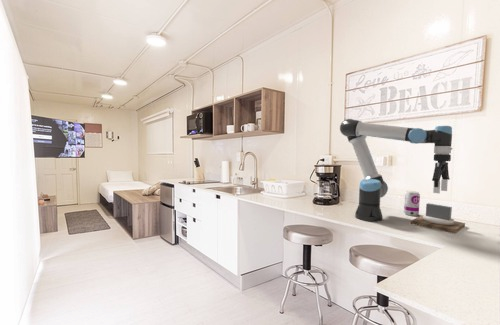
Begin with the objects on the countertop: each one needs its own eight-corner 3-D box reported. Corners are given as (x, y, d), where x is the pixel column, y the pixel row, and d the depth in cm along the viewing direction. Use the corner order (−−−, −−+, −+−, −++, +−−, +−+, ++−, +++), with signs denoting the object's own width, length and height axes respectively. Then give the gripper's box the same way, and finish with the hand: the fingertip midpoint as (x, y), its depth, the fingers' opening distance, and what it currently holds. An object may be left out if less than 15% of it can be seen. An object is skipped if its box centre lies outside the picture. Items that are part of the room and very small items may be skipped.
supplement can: (421, 216, 160) (423, 193, 159) (408, 216, 160) (410, 192, 159) (413, 213, 168) (414, 190, 167) (401, 212, 168) (402, 190, 168)
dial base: (410, 223, 143) (411, 220, 143) (423, 218, 156) (423, 214, 155) (455, 233, 128) (455, 229, 127) (464, 226, 140) (465, 222, 140)
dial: (419, 220, 143) (420, 204, 142) (427, 216, 151) (428, 201, 151) (449, 226, 132) (450, 209, 131) (456, 222, 140) (457, 206, 140)
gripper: (443, 154, 129) (441, 195, 130) (456, 154, 144) (454, 190, 145) (426, 153, 134) (424, 193, 135) (440, 153, 150) (439, 189, 151)
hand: (440, 191), depth 140 cm, fingers open, 13 cm apart
